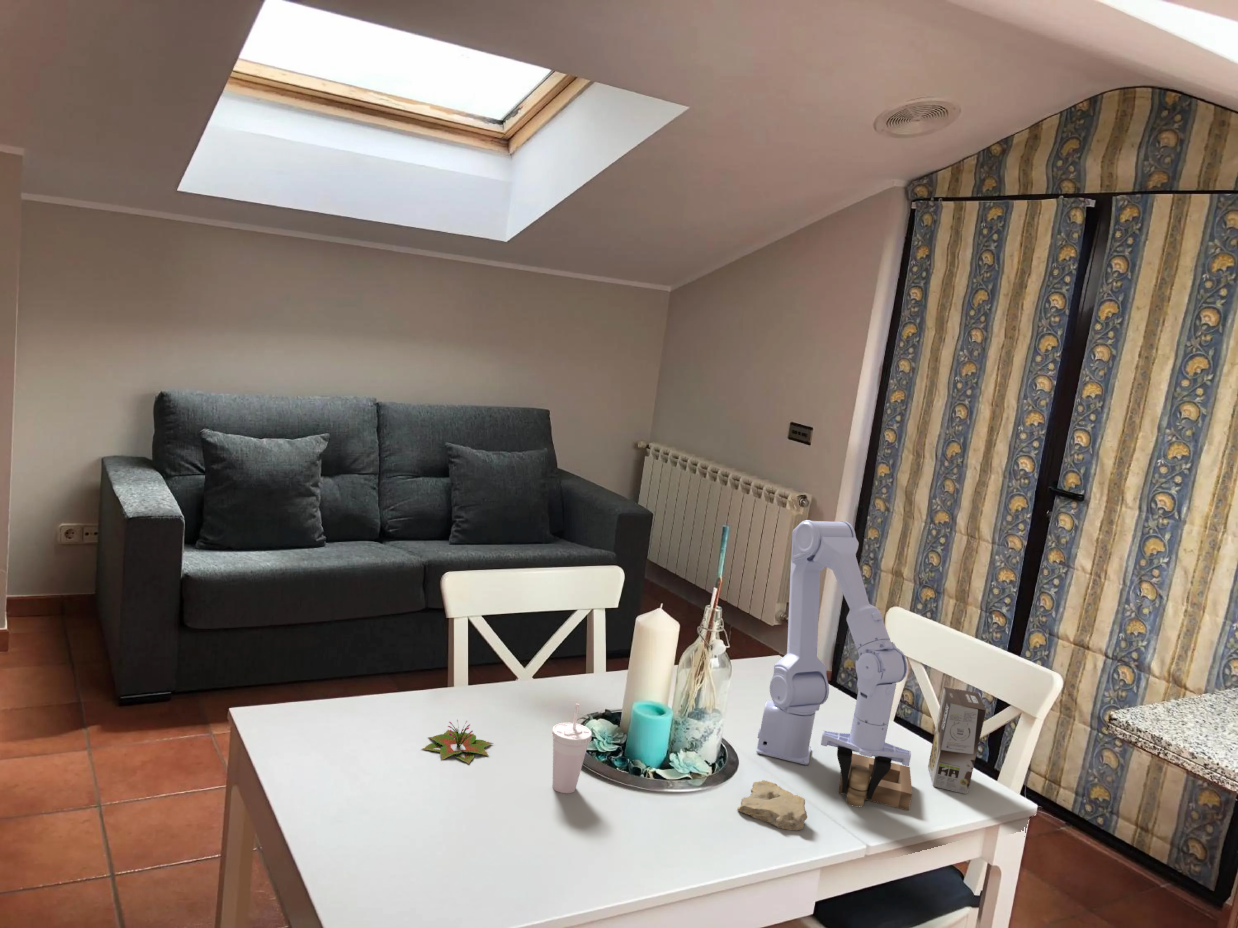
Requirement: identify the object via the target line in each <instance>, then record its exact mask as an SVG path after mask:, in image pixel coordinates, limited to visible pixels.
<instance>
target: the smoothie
mask: <svg viewBox="0 0 1238 928" xmlns="http://www.w3.org/2000/svg"><path fill="white" fill-rule="evenodd" d="M579 709H580V703H577V702H576V703H575V708H574V714H573V720H572V721H573V722H570V721H569V722H560V723H557V724H555V725H553V727H552V730H551V737H552V788H553V790H554V791H556V792H557V793H561V794H571V793H574V792H575V791H576V789H577V785H578V781H579V777H580V775H581V770H582V768H583V765H584V764H583V763H584V760H585V757H586V752H587V751H588V746H589V743H590V742H591V741H592V735H593V732H592V730H590V728H588V726H585V725H583V724H580V723H578V716H579Z"/></svg>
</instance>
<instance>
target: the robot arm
mask: <svg viewBox="0 0 1238 928" xmlns="http://www.w3.org/2000/svg"><path fill="white" fill-rule="evenodd" d="M791 533H792V535H791V536H792V537H791V557H790V573H789V601H788V620H787V626H788V627H787V646H786V647H787V648H786V649H787V650H786V654H785V655H784V656H782V658H780V660H778V661H776V663H775V664H774V666H773V673H772V678H771V680H770V683H769V695H770V698H771V700H769V699H767V700H765V701H766V702H765V705H764V709H763V714H762V718H761V719H762V720H761V724H760V728H759V729H758V732H757V733H758V734H757V739H758V742H757V747H756V753H757V754H761V755H764V756H767V757H773V758H776V759H780V760H784V761H788V762H793V763H797V764H800V765H804V766H808V765H809V763H810V756H811V750H812V746H811V745H810V744H811V740H812V739H811V738H812V733H813V727H814V721H815V717H816V712H818V711H820V707H821V705H823V704H825V702H826V701H827V700H828V699H829V694H830V686H829V680H828V677H827V665H826V664H824V663H823V661H822V660H821V659H819V658H818V640H819V639H818V636H819V617H820V616H819V614H820V589H821V572H822V571H823V570H824V569H825V568H827V569H830V570H832V572H833V575H834V577H835V579H836V581H837V584H838V585H839V588H840V590H841V593H842V595H843V596H844V599H845V601H846V603H847V606H848V608H849V611H848V613H847V615H846V618H845V619H846V622H847V623H846V624H847V627H848V628H849V632H850V634H851V636H852V640H853V643H854V645H855V649H856V651H857V654H858V656H859V657H858V659H856V660H855V671H856V675H857V683H856V686H857V690H858V692H857V696H856V701H855V702H856V703H855V708H854V711H853V718H852V722H851V728H850V733H846V732H835V731H828V730H824V729H823V730H822V734H821V740H820V746H823V747H828V746H830V747H833V748H837V749H836V750H837V751H836V752H837V753H836V756H837V761H838V764H839V768H840V773H841V774H842V793H846V791H847V784H848V775H849V770H850V766H851V762H852V753H857V754H858V753H859V755H862V756H866V757H870V758H873V757H874V765H873V771H872V775H871V779H870V783H869V790H868V792H867V799H870V800H871V799H872V796H873V793H874V791H875V789H876V787H877V786H878V784H879V782H880V781H881V780H882V778H883V777H884V776H885V775H886V774H887V773H888V772H889V770H890V768H891V763H892V762H897V763H901V765H903V766H907V767H910V763H911V757H912V752H911V750H909V749H904V748H902V747H898V746H896V745H893V744H890V743H888V742H886V738H887V733H888V728H889V723H890V718H891V713H892V708H893V702H894V698H895V693H896V689H897V683H900V682H903V680H904V679H905V678H906V676H907V673H908V662H907V660H906V659H907V658H906V655H905V653H904V651H902V650H901V649H900V648H899V647H897V646H896V643H895V642H893V641H891V638H890V636H889V632H888V630H887V628H886V625H885V622H884V618H883V616H882V612H881V611H880V609H879V608H878V607H876V606H874V605H872V604H871V603H870V601H869V598H868V594H867V591H866V587H865V583H864V581H863V577H862V573H861V569H860V566H859V563H858V559H857V557H856V556H857V552H858V550H859V544H860V543H859V541H858V539H857V536H856V531H855V529H854V527H853V525H852V524H851V523H850V522H848V521H846V520H840V521H825V520H824V521H823V520H821V521H820V520H818V521H817V520H810V519H806V520H802V521H801V522H800V523H799V524H797V526H796V527H795V528H794V529H793V530H792V532H791Z"/></svg>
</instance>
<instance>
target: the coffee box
mask: <svg viewBox="0 0 1238 928" xmlns="http://www.w3.org/2000/svg"><path fill="white" fill-rule="evenodd" d="M938 710H939V711H938V714H937V719H936V723H935V724H936V726H935V730H934V735H933V740H932V745H931V751H930V756H929V759H928V765H927V768H928V771H929V776H930V780H931V783H932V786H933V787H934V788H939V789H943V790H947V791H950V792H951V791H952V792H955V793H960V794H964V795H968V793H969V789H970V786H971V785H970V784H971V780H972V776H973V771H974V766H975V762H976V757H977V753H978V748H979V744H980V739H981V736H982V730H983V726H984V721H985V718H986V713H987V709H986V706H985V705H984V702H983V701H982V699H981V697H980V695H979V693H978V692H973V691H969V690H962V689H958V688H951V687H946V686H944V687H943V691H942V696H941V700H940V705H939V709H938Z"/></svg>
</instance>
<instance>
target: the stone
mask: <svg viewBox="0 0 1238 928" xmlns="http://www.w3.org/2000/svg"><path fill="white" fill-rule="evenodd" d="M750 792H751V794H750V796H747V797H743V798H742V799H741V801H740V805H739V806H738V807H737V808H736V810H737V811H738V813H742V814H746V815H749V816H751V817H752V818H754V819H756V820H761V821H763V822H766V823H767V822H768V823H769V824H771V825H772V826H774V827H777V829H783V830H790V831H796V832H797V831H801V830H803V829H804V827H805V825H804V824H805V821H806V820H807V819H808V815H807V813H808V812H807V810H806V808H805V807H806V806H805V805H806V799H805V798H804V797H802V796H800V795H798V794H793V793H792V792H790V791H789V790H786V789H784V788H782V787H781V786H780V785H778V784H777V783H774V782H772V781H768V780H764V779H762V780H761V781H754V782H753V783H752V788H751V789H750Z"/></svg>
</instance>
